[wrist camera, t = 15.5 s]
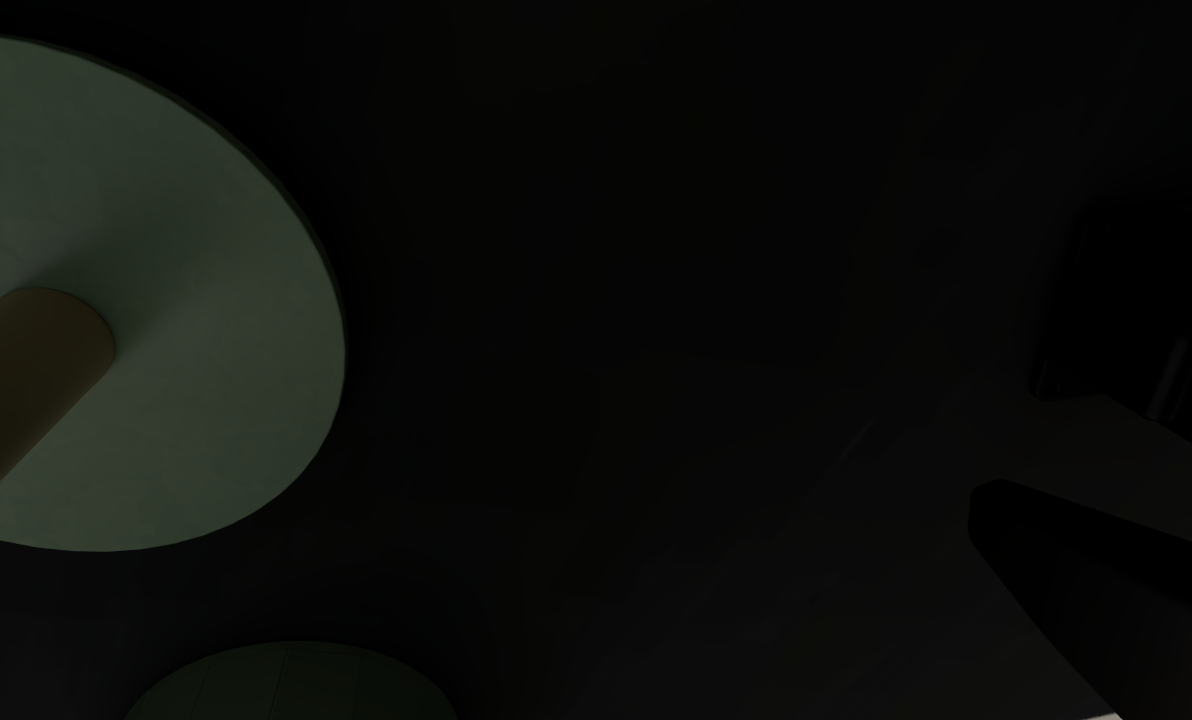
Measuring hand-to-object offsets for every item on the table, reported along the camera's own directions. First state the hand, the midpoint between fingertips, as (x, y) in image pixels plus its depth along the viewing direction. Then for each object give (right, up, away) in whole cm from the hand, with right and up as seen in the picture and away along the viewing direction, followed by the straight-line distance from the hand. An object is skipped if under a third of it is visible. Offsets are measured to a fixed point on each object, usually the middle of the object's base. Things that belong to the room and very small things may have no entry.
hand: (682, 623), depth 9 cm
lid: (-14, +4, +7) cm, 16 cm away
